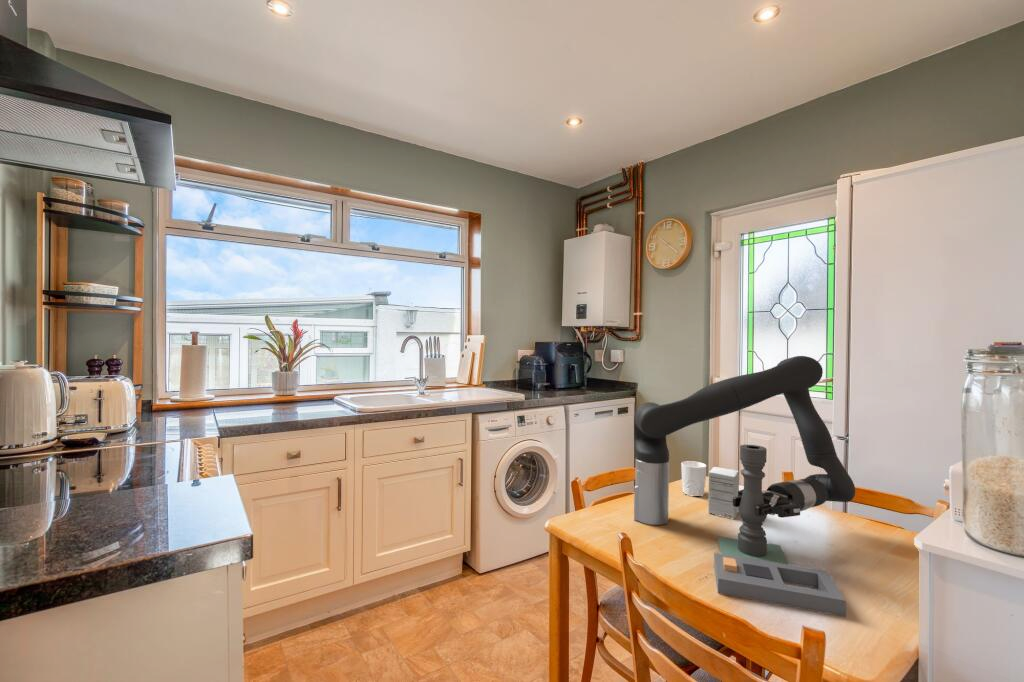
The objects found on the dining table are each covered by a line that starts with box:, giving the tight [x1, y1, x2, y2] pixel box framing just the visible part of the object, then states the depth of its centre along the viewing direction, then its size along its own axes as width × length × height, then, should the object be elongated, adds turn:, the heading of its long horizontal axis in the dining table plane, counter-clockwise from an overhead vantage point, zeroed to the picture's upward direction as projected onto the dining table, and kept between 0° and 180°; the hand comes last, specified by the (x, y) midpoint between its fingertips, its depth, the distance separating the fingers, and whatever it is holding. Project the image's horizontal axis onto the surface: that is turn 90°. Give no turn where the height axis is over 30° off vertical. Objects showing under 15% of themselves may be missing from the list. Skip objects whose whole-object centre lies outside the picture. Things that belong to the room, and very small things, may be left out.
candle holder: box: [737, 444, 768, 557], centre depth 110 cm, size 6×6×25 cm
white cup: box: [680, 460, 707, 497], centre depth 154 cm, size 8×8×10 cm
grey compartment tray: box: [713, 552, 847, 618], centre depth 95 cm, size 22×12×4 cm, turn 70°
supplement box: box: [707, 466, 740, 519], centre depth 137 cm, size 7×7×13 cm
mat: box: [717, 536, 790, 565], centre depth 110 cm, size 14×12×1 cm
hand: (745, 506), depth 109 cm, fingers closed on candle holder, 5 cm apart
